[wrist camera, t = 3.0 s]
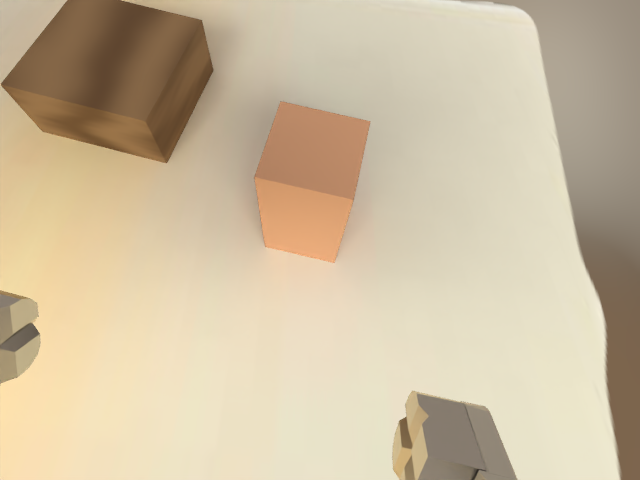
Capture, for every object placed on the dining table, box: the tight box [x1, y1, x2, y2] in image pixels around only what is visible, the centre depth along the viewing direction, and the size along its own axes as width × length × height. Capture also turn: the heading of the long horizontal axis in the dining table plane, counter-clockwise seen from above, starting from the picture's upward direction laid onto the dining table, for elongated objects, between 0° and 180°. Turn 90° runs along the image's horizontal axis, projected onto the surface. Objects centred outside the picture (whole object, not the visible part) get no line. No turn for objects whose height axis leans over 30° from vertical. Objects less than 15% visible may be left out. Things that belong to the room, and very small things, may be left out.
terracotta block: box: [254, 102, 370, 263], centre depth 24 cm, size 5×5×9 cm
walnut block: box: [1, 0, 213, 163], centre depth 29 cm, size 10×10×5 cm
